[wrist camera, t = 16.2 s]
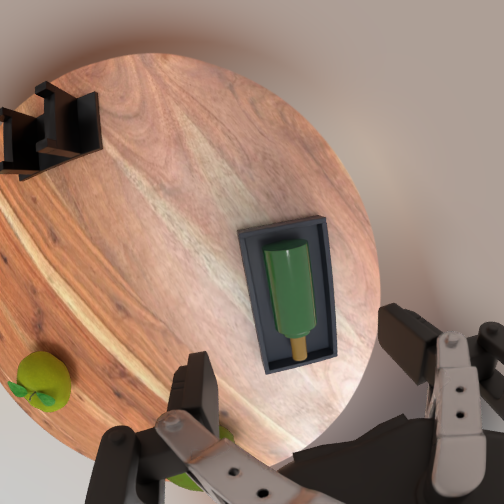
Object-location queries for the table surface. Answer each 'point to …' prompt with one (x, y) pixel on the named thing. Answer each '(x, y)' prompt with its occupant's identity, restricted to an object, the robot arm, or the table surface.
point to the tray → (270, 340)
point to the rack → (50, 132)
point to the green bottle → (291, 291)
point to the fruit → (42, 381)
